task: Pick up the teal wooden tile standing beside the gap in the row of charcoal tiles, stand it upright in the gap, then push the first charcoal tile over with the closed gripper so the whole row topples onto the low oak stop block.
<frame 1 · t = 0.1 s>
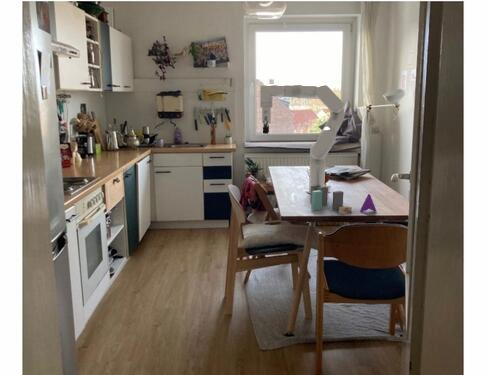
hand: (265, 132, 276), 37 cm above the table, tool pointing down, fingers open, 9 cm apart
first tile: (315, 202, 254), on the table
arrowhead: (368, 212, 234), on the table
stop block: (345, 212, 232), on the table
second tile: (322, 204, 249), on the table
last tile: (337, 209, 237), on the table
teal tile: (316, 209, 239), on the table
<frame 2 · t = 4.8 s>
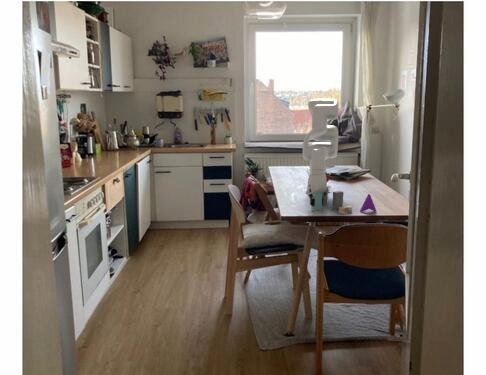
hand: (316, 204, 238), 2 cm above the table, tool pointing down, fingers closed on teal tile, 4 cm apart
teal tile: (316, 209, 239), on the table, touching gripper
everything else where it was.
when the fingers open (3 cm above the table, at t = 9.3 s): teal tile stays where it is, on the table.
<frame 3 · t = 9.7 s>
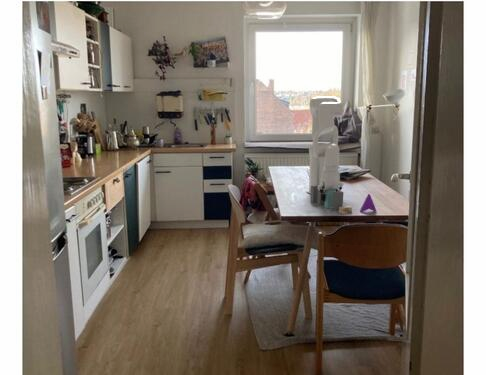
hand: (329, 199, 242), 4 cm above the table, tool pointing down, fingers open, 9 cm apart
teal tile: (329, 207, 243), on the table
everything else where it was.
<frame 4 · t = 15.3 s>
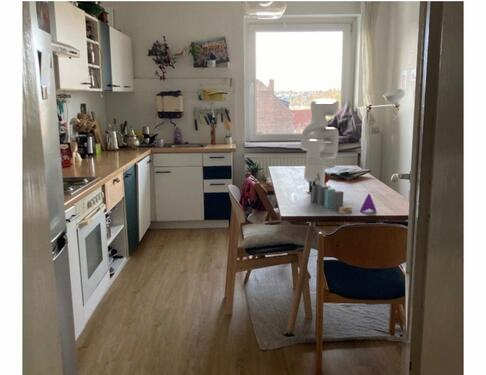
hand: (312, 192, 256), 5 cm above the table, tool pointing down, fingers closed
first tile: (315, 202, 254), on the table, tilted 7°, touching gripper
everything else where it was.
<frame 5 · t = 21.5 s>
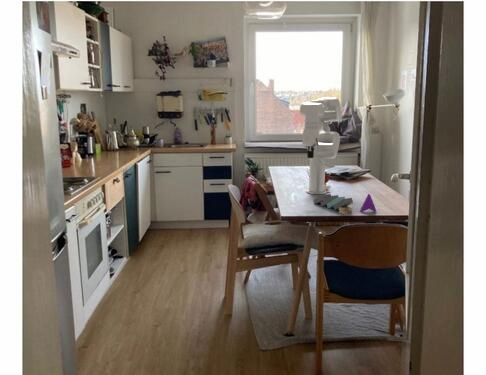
hand: (310, 157, 254), 25 cm above the table, tool pointing down, fingers closed
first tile: (317, 201, 252), point 1 cm above the table, tilted 64°, touching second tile
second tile: (324, 203, 246), point 1 cm above the table, tilted 59°, touching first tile, teal tile
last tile: (337, 207, 237), point 2 cm above the table, tilted 57°, touching stop block, teal tile
teal tile: (330, 205, 242), point 1 cm above the table, tilted 57°, touching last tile, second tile
everything else where it was.
at the end: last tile tilted 57°; teal tile tilted 57° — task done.
